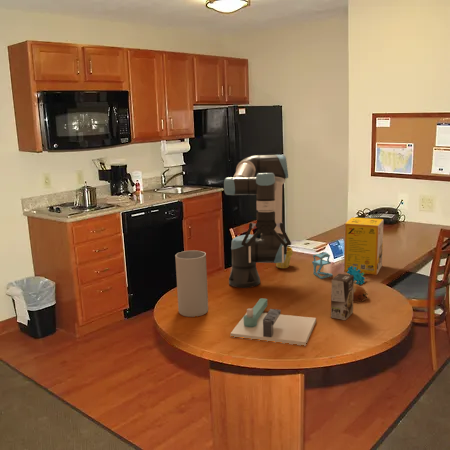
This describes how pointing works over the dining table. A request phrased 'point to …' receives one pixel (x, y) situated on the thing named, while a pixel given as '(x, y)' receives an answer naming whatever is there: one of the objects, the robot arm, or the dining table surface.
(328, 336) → the dining table surface
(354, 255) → the packaging box
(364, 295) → the bread roll
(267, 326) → the bar
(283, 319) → the base plate
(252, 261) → the robot arm
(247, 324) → the latch bar
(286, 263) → the plant pot
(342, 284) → the coffee box
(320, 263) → the chair
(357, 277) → the gear
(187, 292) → the cylinder vase
